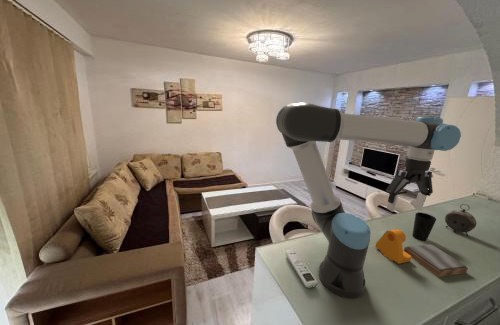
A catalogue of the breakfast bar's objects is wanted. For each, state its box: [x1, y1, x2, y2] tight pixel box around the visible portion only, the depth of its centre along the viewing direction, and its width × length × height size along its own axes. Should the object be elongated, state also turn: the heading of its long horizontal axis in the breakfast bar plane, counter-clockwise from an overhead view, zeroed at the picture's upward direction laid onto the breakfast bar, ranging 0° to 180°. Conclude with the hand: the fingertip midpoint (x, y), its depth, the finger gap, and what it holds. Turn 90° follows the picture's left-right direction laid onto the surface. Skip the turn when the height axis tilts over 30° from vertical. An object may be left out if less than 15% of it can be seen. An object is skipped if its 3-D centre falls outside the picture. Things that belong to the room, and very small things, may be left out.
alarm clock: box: [444, 203, 477, 237], centre depth 105 cm, size 11×5×16 cm, turn 28°
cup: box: [412, 211, 437, 242], centre depth 99 cm, size 8×8×12 cm
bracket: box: [374, 228, 412, 265], centre depth 86 cm, size 11×7×12 cm, turn 18°
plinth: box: [403, 244, 469, 278], centre depth 84 cm, size 14×14×3 cm
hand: (404, 209), depth 82 cm, fingers open, 13 cm apart
